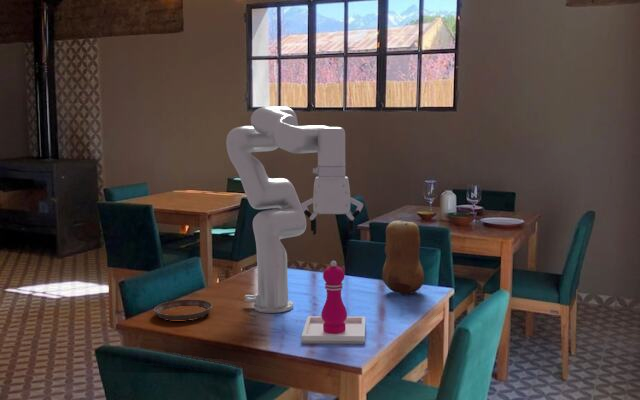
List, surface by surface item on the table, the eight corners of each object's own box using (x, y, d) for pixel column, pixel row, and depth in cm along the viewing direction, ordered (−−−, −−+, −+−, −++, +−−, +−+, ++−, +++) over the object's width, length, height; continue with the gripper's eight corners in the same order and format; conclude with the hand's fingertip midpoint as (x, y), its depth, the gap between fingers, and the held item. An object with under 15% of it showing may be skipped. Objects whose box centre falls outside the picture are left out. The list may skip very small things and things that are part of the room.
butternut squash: (420, 287, 234) (421, 217, 231) (426, 298, 221) (426, 223, 218) (381, 288, 235) (380, 217, 231) (384, 298, 221) (383, 224, 218)
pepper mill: (345, 335, 184) (344, 264, 181) (319, 333, 185) (318, 263, 183) (349, 326, 191) (348, 258, 188) (324, 325, 192) (323, 257, 190)
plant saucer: (168, 306, 218) (167, 297, 217) (220, 308, 215) (219, 299, 214) (145, 323, 201) (144, 313, 200) (201, 325, 198) (200, 315, 197)
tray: (301, 343, 180) (301, 335, 180) (307, 323, 197) (307, 316, 197) (364, 344, 179) (364, 336, 179) (365, 323, 196) (365, 316, 196)
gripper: (298, 173, 180) (299, 236, 182) (363, 173, 178) (363, 236, 181) (301, 171, 187) (302, 231, 190) (363, 170, 186) (363, 231, 188)
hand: (332, 233), depth 185 cm, fingers open, 9 cm apart
